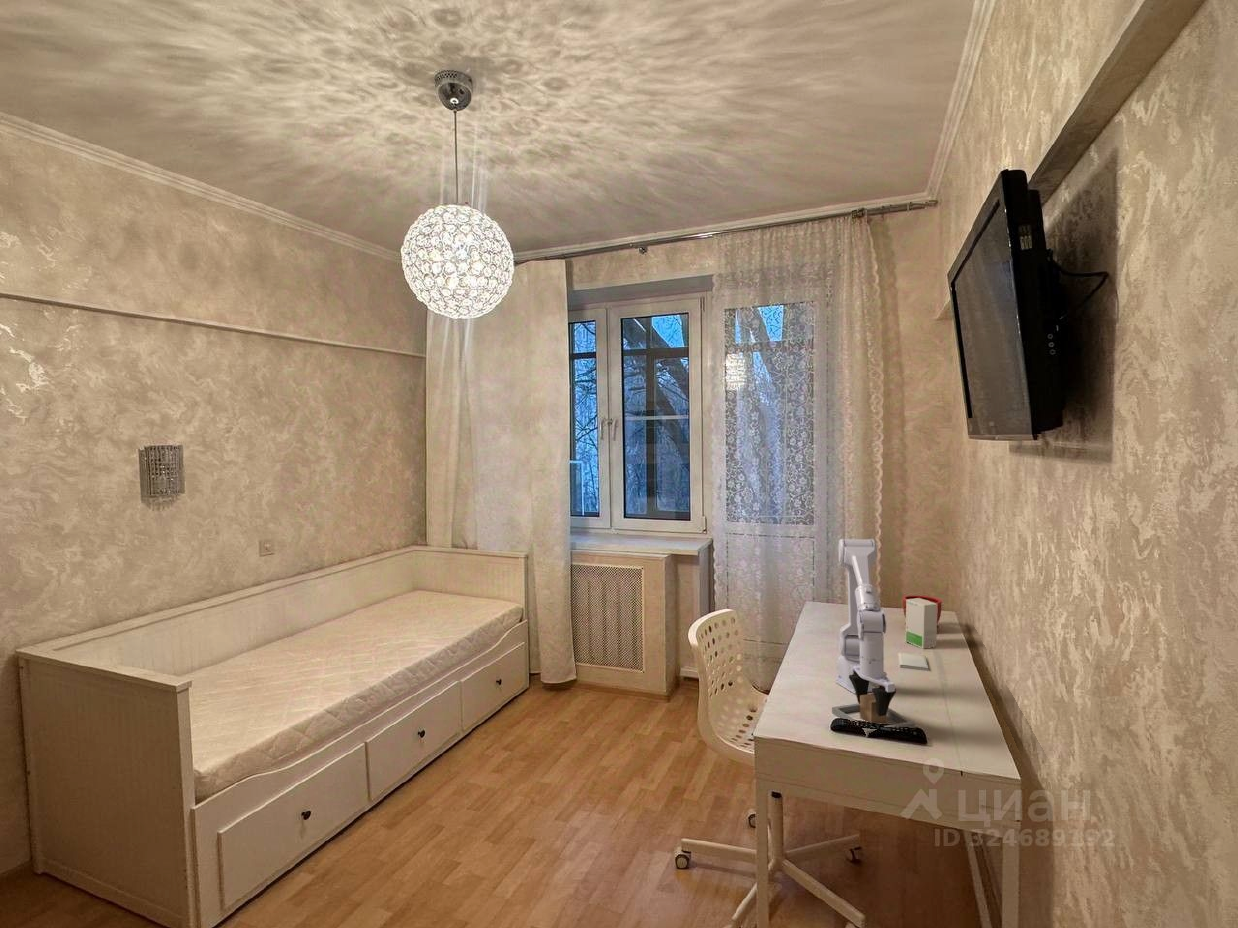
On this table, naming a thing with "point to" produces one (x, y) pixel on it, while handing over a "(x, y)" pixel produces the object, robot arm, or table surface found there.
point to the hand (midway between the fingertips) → (871, 708)
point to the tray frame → (844, 709)
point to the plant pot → (924, 599)
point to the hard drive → (912, 661)
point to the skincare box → (921, 622)
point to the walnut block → (870, 709)
